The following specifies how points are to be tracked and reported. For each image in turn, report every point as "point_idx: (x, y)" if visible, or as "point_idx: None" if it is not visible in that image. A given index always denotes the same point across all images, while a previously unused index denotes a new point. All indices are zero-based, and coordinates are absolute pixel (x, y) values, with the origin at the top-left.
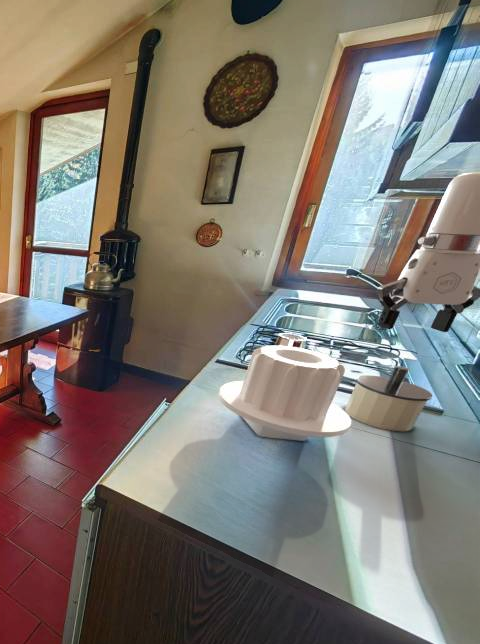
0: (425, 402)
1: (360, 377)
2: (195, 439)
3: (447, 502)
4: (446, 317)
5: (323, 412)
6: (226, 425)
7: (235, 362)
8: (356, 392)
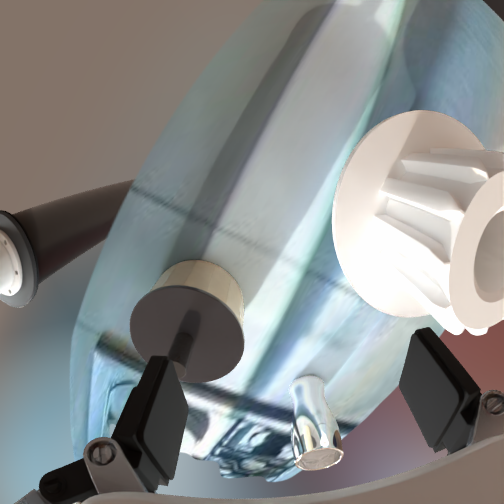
0: None
1: (227, 370)
2: (499, 151)
3: (251, 44)
4: (158, 427)
5: (411, 159)
6: None
7: None
8: None
